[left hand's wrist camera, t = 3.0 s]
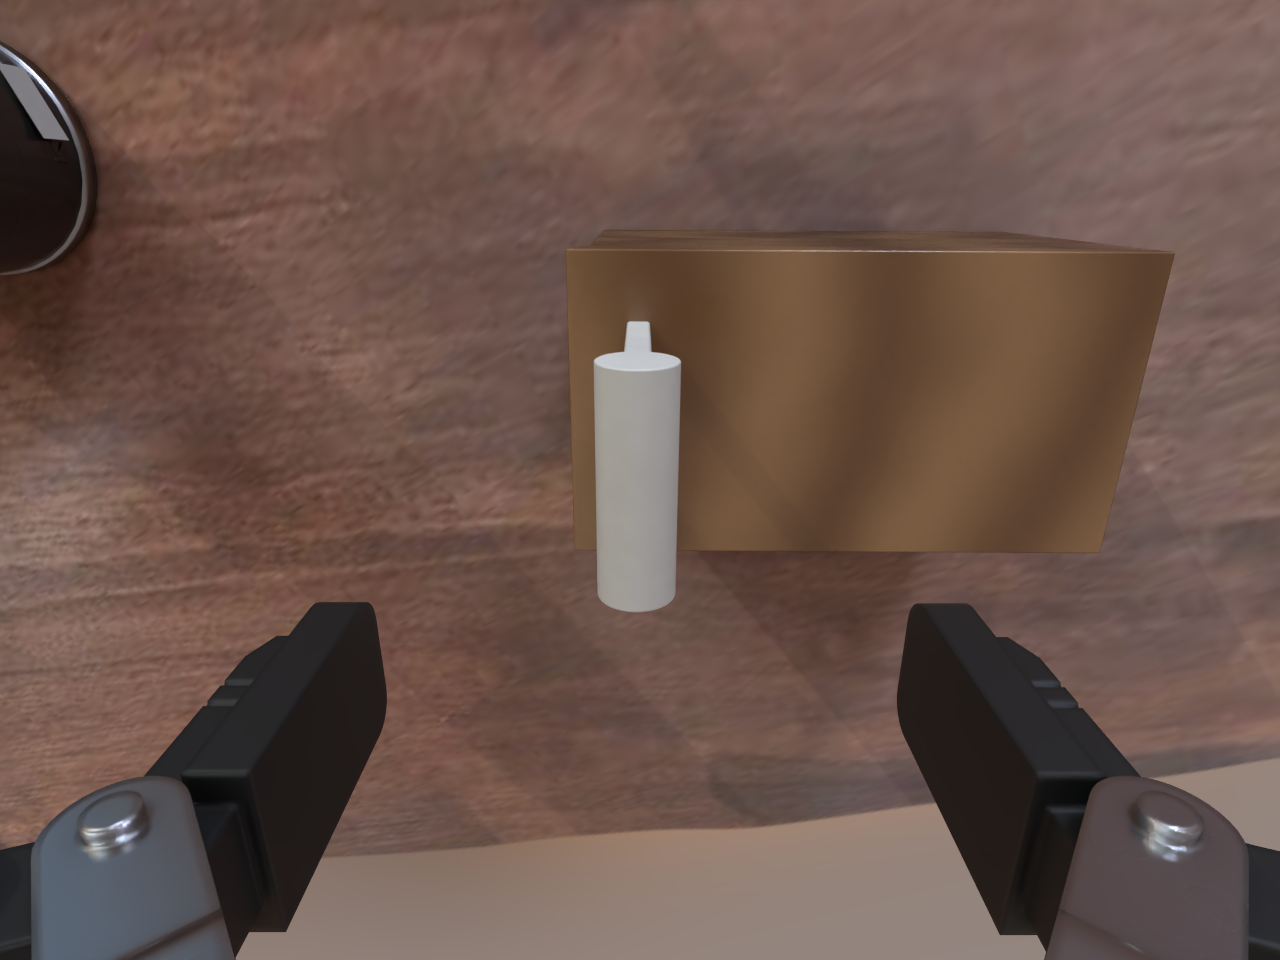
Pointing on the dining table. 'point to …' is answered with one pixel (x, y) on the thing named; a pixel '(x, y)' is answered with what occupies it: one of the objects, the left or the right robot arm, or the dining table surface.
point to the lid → (848, 400)
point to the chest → (839, 240)
